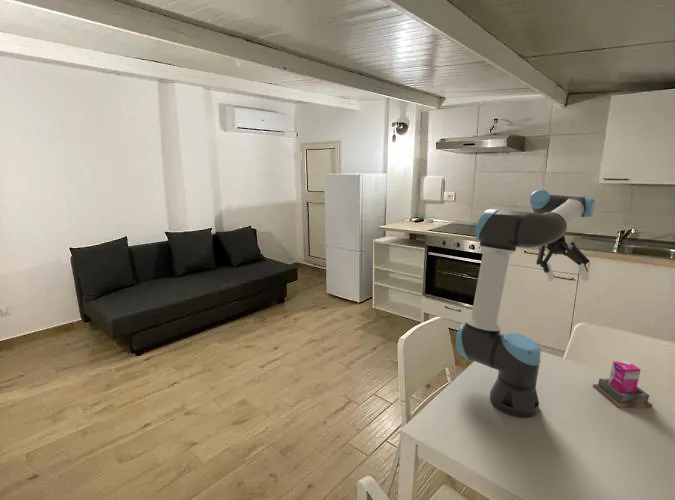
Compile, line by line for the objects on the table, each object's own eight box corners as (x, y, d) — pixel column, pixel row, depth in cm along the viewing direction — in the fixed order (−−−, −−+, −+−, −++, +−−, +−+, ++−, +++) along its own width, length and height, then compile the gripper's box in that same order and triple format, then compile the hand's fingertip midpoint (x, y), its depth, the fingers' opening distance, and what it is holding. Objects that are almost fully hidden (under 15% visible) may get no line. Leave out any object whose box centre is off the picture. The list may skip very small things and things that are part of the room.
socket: (617, 407, 127) (619, 397, 126) (592, 386, 138) (594, 376, 137) (652, 407, 127) (654, 397, 126) (624, 386, 139) (626, 376, 138)
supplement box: (606, 389, 135) (612, 360, 133) (622, 388, 136) (628, 360, 133) (618, 399, 130) (625, 369, 127) (635, 398, 130) (642, 369, 127)
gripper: (576, 239, 161) (594, 284, 150) (518, 238, 160) (532, 283, 149) (587, 229, 154) (606, 275, 143) (527, 228, 153) (542, 275, 142)
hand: (569, 279), depth 146 cm, fingers open, 13 cm apart
